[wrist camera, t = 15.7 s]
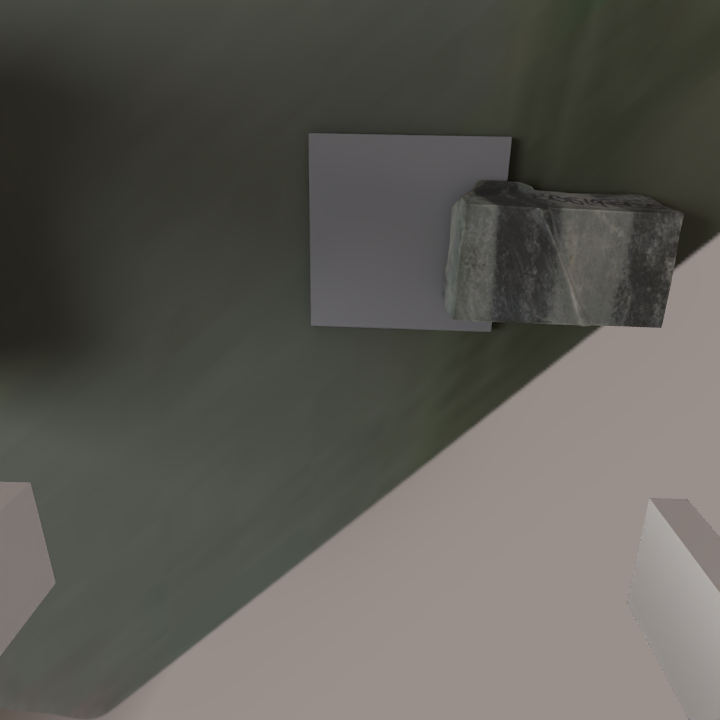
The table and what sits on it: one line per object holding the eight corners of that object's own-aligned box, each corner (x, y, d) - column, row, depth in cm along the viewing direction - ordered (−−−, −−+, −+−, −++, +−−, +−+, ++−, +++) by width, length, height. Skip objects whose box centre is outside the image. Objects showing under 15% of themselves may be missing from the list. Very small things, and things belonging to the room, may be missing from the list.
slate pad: (312, 322, 44) (311, 325, 44) (310, 133, 39) (308, 133, 39) (489, 328, 44) (490, 331, 43) (509, 137, 39) (511, 136, 38)
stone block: (451, 178, 39) (466, 182, 34) (653, 186, 39) (696, 191, 35) (440, 303, 42) (452, 322, 37) (628, 308, 43) (664, 329, 38)
